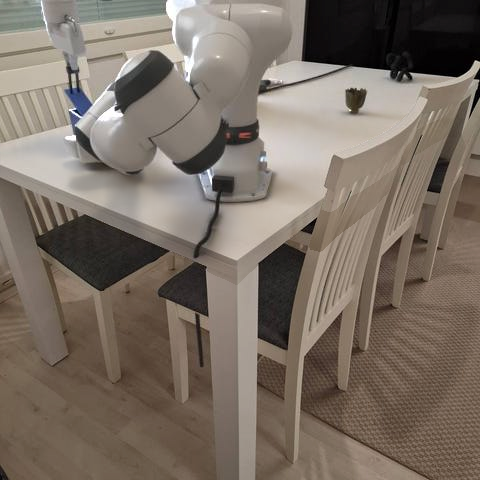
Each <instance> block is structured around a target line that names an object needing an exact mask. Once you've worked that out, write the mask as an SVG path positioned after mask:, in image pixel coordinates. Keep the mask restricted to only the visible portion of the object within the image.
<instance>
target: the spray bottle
mask: <svg viewBox="0 0 480 480" xmlns="http://www.w3.org/2000/svg"><path fill="white" fill-rule="evenodd" d="M283 83H284V80H282V79H278V78H272V77H271V78H270V77H269V78H267V79H262V80H261V83H260V86H259V92H260V91H262V90H265V89H268V87H267V86H270V85H271V84H276V85H277V84H283Z"/></svg>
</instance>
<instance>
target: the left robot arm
mask: <svg viewBox="0 0 480 480" xmlns="http://www.w3.org/2000/svg"><path fill="white" fill-rule="evenodd" d="M100 1H101V2H112V1H113V0H100ZM40 4H41V12H40V14H41V18H42V21H44V22H45V26H46V27H45V28H46V31H47V34H48V37H49V41H50V44H51V45H52V47H53V48H55V49H57V50H59V51H61V54H62V57H63V59H64V62H65V66H70V68H71V69H72V70H78V67H79V64H78V59H79V57H81V56H85V55H87V48H86V42H85V39H84V35H83V31H82V28H81V26H80V24H78V23H77V22H80V20H81V19H80V14H79V9H78V3H77V0H40ZM203 4H230V1H229V0H167V1H166V13H167V15H168V17H169V19H170V20H171V21H172V22H173V23H174V20H175V18H176V16H177V14H178V13H179V11H180V10H181V9H184V8H188V7H192V6H197V5H203ZM183 56H184V55H183ZM190 59H191V58H190V57H187V56H184V64H185V65H184V66H185V68H184V69H185V70H184V78H185V79H186V81H188V69H189V63H190ZM353 66H354V65H353V63H351V64H349V65H346V66H343V67H340V68H337V69H334V70H332V71H328V72H326V73H323V74H319V75H316V76H313V77H312V76H311V77H310V78H306V79H302V80H298V81H294V82H290V83H287V84H282V85H277V86H274V87H270V88H269V87H268V88H266V89H265V90H262V91H260V92H258V94H261V93H265V92H270V91H273V90H277V89H282V88H286V87H290V86H294V85H299V84H301V83H305V82H309V81H312V80H315V79H319V78H322V77H325V76H328V75H331V74H333V73H336V72H339V71H342V70H345V69H347V68H351V67H353Z"/></svg>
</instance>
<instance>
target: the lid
mask: <svg viewBox="0 0 480 480" xmlns="http://www.w3.org/2000/svg"><path fill="white" fill-rule="evenodd" d="M65 66H66V65H65ZM65 71H66V74H67V77H68V78H67V79H68V88H65V89H63V90H64V93H65V95H66V97H68V99H69V101H70V102H71V103H72V105H73V106H74V109H75V108H76V109H77V110H78V112H79V113H80V115H81V116H82V117H83V116H84V114H85V113H86V112H87V111H88V110H89V109H90V108H91V107H92V106H93V104H94V103H92V101H91V100H90V99H89V98H88V96H87V95H86V94H85V92H84V90H83V89H82V88H81V87H80V79H79V78H80V75H79V73H80V72H81V69H80V67H79V66H78V70H72V69H71V68H70V66H66V67H65ZM72 75H74V76H75V87H73V80H72V79H73V78H72Z"/></svg>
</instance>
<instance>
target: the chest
mask: <svg viewBox="0 0 480 480" xmlns="http://www.w3.org/2000/svg"><path fill="white" fill-rule="evenodd" d="M67 111H68V116H69V121H70V124H71V129H72V134H73V136H75V133H74V126H75V125H76V123H77V122H78V121H79V120H80V119H81V118H82V116H81V115H80V113H79V112H78V110H77V109H76V108H75V107H74V108H69V109H68V110H67Z"/></svg>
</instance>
